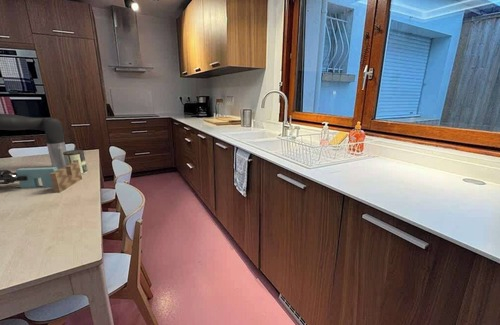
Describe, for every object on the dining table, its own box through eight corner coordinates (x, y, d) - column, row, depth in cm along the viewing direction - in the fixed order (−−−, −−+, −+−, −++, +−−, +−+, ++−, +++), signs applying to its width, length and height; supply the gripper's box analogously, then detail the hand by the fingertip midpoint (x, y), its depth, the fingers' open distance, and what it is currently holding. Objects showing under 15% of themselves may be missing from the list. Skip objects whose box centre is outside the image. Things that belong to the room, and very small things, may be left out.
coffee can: (81, 170, 156) (77, 149, 152) (91, 172, 151) (87, 150, 147) (64, 174, 147) (58, 152, 143) (74, 177, 142) (69, 154, 139)
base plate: (77, 179, 139) (74, 162, 136) (82, 178, 139) (78, 162, 137) (54, 192, 120) (49, 173, 117) (59, 192, 120) (55, 173, 117)
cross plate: (25, 186, 129) (20, 168, 126) (61, 184, 131) (57, 167, 128) (20, 188, 126) (15, 170, 123) (57, 186, 128) (53, 168, 125)
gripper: (-19, 174, 117) (19, 173, 118) (7, 166, 130) (40, 165, 132) (-14, 189, 119) (23, 187, 120) (11, 179, 132) (43, 178, 134)
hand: (32, 176), depth 126 cm, fingers open, 6 cm apart
